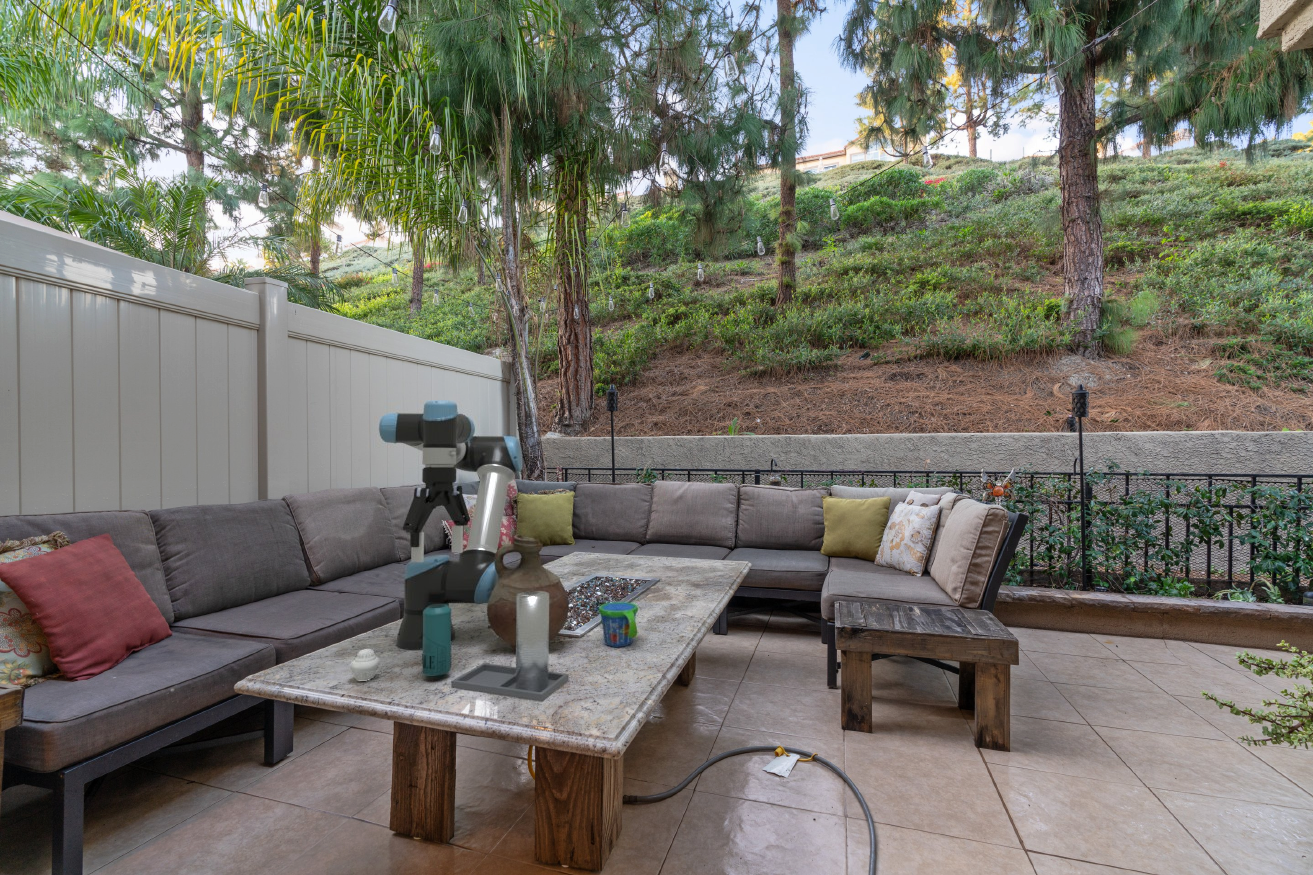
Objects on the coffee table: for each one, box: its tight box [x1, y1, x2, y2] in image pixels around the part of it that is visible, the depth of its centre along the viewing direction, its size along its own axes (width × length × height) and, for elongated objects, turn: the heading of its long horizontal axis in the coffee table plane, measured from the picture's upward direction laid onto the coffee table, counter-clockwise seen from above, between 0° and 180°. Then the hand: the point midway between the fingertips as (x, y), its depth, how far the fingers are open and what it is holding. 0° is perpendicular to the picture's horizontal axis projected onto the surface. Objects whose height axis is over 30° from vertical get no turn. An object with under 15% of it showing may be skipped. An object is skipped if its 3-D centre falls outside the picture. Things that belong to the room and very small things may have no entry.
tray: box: [450, 662, 569, 702], centre depth 124 cm, size 12×22×2 cm, turn 72°
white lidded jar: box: [349, 648, 381, 681], centre depth 130 cm, size 6×6×7 cm
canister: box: [515, 591, 550, 692], centre depth 123 cm, size 7×7×20 cm
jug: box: [486, 533, 570, 649], centre depth 152 cm, size 22×22×30 cm
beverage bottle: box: [421, 590, 453, 677], centre depth 131 cm, size 6×7×20 cm
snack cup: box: [598, 601, 639, 648], centre depth 155 cm, size 16×10×10 cm
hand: (438, 556), depth 131 cm, fingers open, 13 cm apart
